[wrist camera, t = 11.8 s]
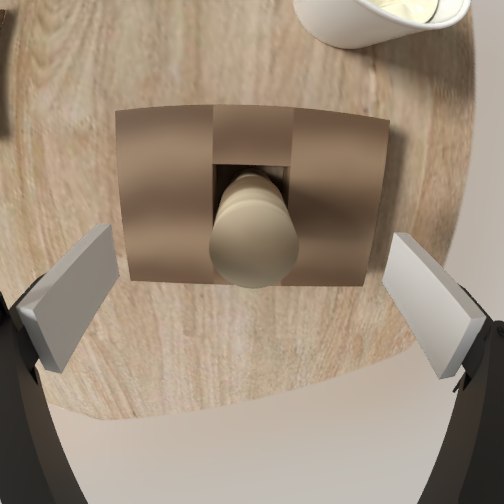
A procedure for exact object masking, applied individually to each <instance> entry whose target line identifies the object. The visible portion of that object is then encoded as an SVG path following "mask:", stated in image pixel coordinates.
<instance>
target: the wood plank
mask: <svg viewBox="0 0 504 504" xmlns="http://www.w3.org/2000/svg"><path fill="white" fill-rule="evenodd" d="M5 11H6V10H2V9H1V10H0V29H1V26H2V23H3V21H4V16H5Z"/></svg>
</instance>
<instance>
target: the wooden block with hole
mask: <svg viewBox="0 0 504 504" xmlns="http://www.w3.org/2000/svg"><path fill="white" fill-rule="evenodd" d="M115 117H116V151H117V168H118V182H119V194H120V205H121V214H122V223H123V231H124V239H125V246H126V253H127V260H128V266H129V272H130V278H131V281H150V282H171V283H195V284H224V285H235V284H232V283H230V282H229V281H227V280H226V279H224V278H223V277H222V276H221V275H220V274H219V273H218V272H217V270H216V269H215V267H214V266H213V264H212V261H211V258H210V254H209V243H210V238H211V234H212V230H213V227H214V223H215V219H216V216H217V188H218V164H242V165H270V166H284V172H283V188H282V198H283V200H284V203H285V205H286V208H287V210H288V213H289V216H290V218H291V221H292V223H293V226H294V229H295V231H296V234H297V237H298V241H299V253H298V258H297V261H296V263H295V265H294V267H293V268H292V270H291V271H290V272H289V273H288V275H287V276H285V277H284V278H283V279H282V280H280V281H279V282H277V283H275V284H273V285H270V286H363V285H364V280H365V276H366V272H367V267H368V263H369V258H370V253H371V248H372V243H373V238H374V233H375V228H376V222H377V216H378V211H379V204H380V198H381V192H382V185H383V178H384V170H385V162H386V154H387V145H388V135H389V124H390V120H385V119H379V118H373V117H367V116H361V115H354V114H348V113H340V112H332V111H324V110H315V109H304V108H292V107H278V106H259V105H184V106H164V107H150V108H139V109H129V110H120V111H115Z"/></svg>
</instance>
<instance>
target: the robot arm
mask: <svg viewBox="0 0 504 504" xmlns="http://www.w3.org/2000/svg"><path fill="white" fill-rule="evenodd" d="M119 276H120V275H119V270H118V264H117V259H116V253H115V247H114V241H113V234H112V228H111V224H96V225H95V226H94V227H93V228H92V229H91V230H90V231H89V232H87V233H86V234H85V235H84V236H83V237H82V238H81V239H80V240H79V241H78V242H77V243H76V244H75V245H74V246H73V247H72V248H71V249H70V250H69V251H68V252H67V253H66V254H65V255H64V256H63V257H62V258H61V259H60V260H59V261H58V262H57V263H56V264H55V265H54V266H53V267H52V268H51V269H50V270H49V271H48V272H47V273H45V274H43V275H42V276H40V277H39V278H37V279H36V280H35V281H34V282H33V283H32V284H31V285H30V288H28V289H27V290H26V291H25V293H23V294H22V295H21V296H20V298H19V299H18V300H17V301H16V302H15V303H14V304H13V305H12V307H11V308H10V309H9V310H8V308H7V306H6V303H5V301H4V298H3V295H2V293H1V292H0V500H1V503H2V504H88V502H87V501H86V499H85V497H84V495H83V493H82V491H81V489H80V487H79V485H78V483H77V481H76V478H75V476H74V474H73V472H72V470H71V467H70V465H69V463H68V460H67V458H66V456H65V453H64V451H63V448H62V446H61V443H60V441H59V438H58V435H57V433H56V430H55V427H54V424H53V421H52V418H51V415H50V412H49V409H48V405H47V402H46V399H45V395H44V392H43V388H42V384H41V381H40V377H39V373H38V370H37V368H36V367H35V364H36V362H37V360H38V359H40V361H41V363H42V365H43V366H44V368H45V370H49V371H53V372H57V373H61V374H62V372H63V370H64V368H65V366H66V365H67V363H68V361H69V359H70V357H71V355H72V354H73V352H74V350H75V348H76V346H77V345H78V343H79V341H80V339H81V338H82V336H83V334H84V332H85V331H86V329H87V327H88V326H89V324H90V322H91V321H92V319H93V317H94V316H95V314H96V312H97V311H98V309H99V307H100V306H101V304H102V303H103V301H104V299H105V298H106V296H107V295H108V293H109V291H110V290H111V288H112V287H113V285H114V284H115V282H116V280H117V279H118V277H119ZM382 283H383V285H384V286H385V288H386V290H387V291H388V293H389V294H390V296H391V298H392V299H393V301H394V302H395V304H396V306H397V307H398V309H399V310H400V312H401V314H402V315H403V317H404V319H405V320H406V322H407V324H408V325H409V327H410V329H411V330H412V332H413V334H414V335H415V337H416V339H417V341H418V342H419V344H420V346H421V348H422V349H423V351H424V353H425V355H426V356H427V358H428V360H429V362H430V364H431V366H432V367H433V369H434V371H435V373H436V375H437V377H438V378H439V379H444V378H449V377H453V376H455V374H456V373H457V371H458V369H459V368H460V366H461V364H462V365H463V367H464V369H465V372H464V374H463V376H462V377H461V379H460V380H459V382H458V384H457V385H456V387H455V388H454V390H453V392H454V393H455V391H456V390H457V389H459V390H458V394H457V398H456V401H455V405H454V409H453V412H452V416H451V419H450V422H449V425H448V429H447V432H446V435H445V438H444V441H443V444H442V446H441V449H440V452H439V455H438V457H437V460H436V462H435V465H434V467H433V470H432V472H431V475H430V477H429V480H428V482H427V484H426V486H425V488H424V491H423V493H422V495H421V497H420V499H419V501H418V503H417V504H504V322H503V321H493V320H492V319H491V318H490V317H489V315H488V314H487V313H486V312H485V311H484V310H483V309H482V307H481V306H480V305H479V304H478V303H477V301H476V300H475V299H474V298H473V297H471V295H470V294H469V292H468V291H467V290H466V289H465V288H463V287H462V286H461V285H459V284H458V283H456V282H455V281H454V279H453V278H452V277H451V276H450V275H449V274H448V273H447V272H446V271H445V270H444V269H443V268H442V267H441V266H440V265H439V264H438V263H437V262H436V261H435V260H434V259H433V257H432V256H431V255H430V254H429V253H428V252H427V251H426V250H425V249H424V248H423V247H421V246H420V245H419V244H418V243H417V242H416V241H415V240H414V239H413V238H412V237H411V236H410V235H409V234H408V233H399V232H394V235H393V240H392V244H391V248H390V253H389V257H388V261H387V265H386V269H385V273H384V276H383V280H382Z"/></svg>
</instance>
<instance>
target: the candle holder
mask: <svg viewBox="0 0 504 504" xmlns="http://www.w3.org/2000/svg"><path fill="white" fill-rule="evenodd" d="M470 4H471V0H293V8H294V11H295V14H296V16H297V18H298V20H299V22H300V23H301V25H302V26H303V27H304V28H305V29H306V30H307V31H308V32H309V33H310V34H311V35H312V36H314V37H315V38H317V39H318V40H320V41H322V42H324V43H326V44H328V45H331V46H334V47H337V48H343V49H358V48H363V47H367V46H371V45H374V44H378V43H381V42H384V41H388V40H391V39H395V38H399V37H402V36H406V35H410V34H414V33H418V32H422V31H427V30H435V29H442V28H446V27H450V26H452V25H454V24H456V23H457V22H459V21H460V20H461V19H462V18H463V17H464V16H465V15H466V13H467V11H468V9H469V7H470Z"/></svg>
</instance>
